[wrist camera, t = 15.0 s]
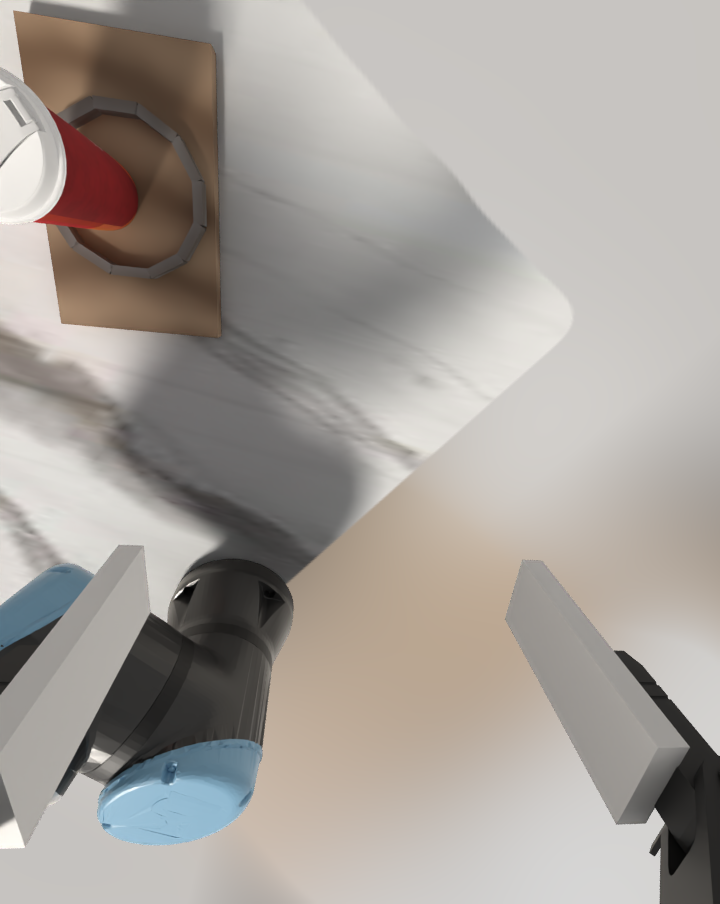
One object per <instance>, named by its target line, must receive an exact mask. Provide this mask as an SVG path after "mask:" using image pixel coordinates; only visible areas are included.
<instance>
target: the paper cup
mask: <svg viewBox="0 0 720 904" xmlns="http://www.w3.org/2000/svg"><path fill="white" fill-rule="evenodd" d="M137 209H138V193H137V189H136V186H135V184H134V181H133V179H132V178H131V176H130V175H129V173H128V172H127V171H126V169H125V168H124V167H123V166H122V165H121V164H120V163H118V162H117V161H116V160H115V159H114V158H113V157H111V156H110V155H109V154H108V153H106V152H105V151H104V150H102V149H101V148H100V147H99V146H97V145H96V144H95V143H93V142H92V141H91V140H89V139H88V138H87V137H85V136H84V135H83V134H82V133H80V132H79V131H78V130H76V129H75V128H74V127H72V126H71V125H70V124H68V123H67V122H66V121H64V120H63V119H62V118H60V117H59V116H58V115H57V114H55V113H54V112H53V111H51V110H50V109H49V108H47V107H46V106H45V105H44V104H43V103H42V101H41V100H40V99H39V97H38V96H37V95H36V94H35V93H34V92H33V91H32V90H31V89H30V88H29V87H28V86H27V85H26V84H25V83H23V82H22V81H21V80H20V79H19V78H17V77H16V76H14V75H13V74H11V73H10V72H8V71H7V70H5V69H3V68H1V67H0V223H1V224H10V225H18V224H26V223H30V222H37V223H45V224H53V225H61V226H69V227H77V228H85V229H94V230H106V231H113V230H119V229H122V228H124V227H126V226H127V225H128V224H129V223H131V221H132V220H133V219H134V217H135V215H136V212H137Z"/></svg>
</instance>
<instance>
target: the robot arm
mask: <svg viewBox="0 0 720 904" xmlns="http://www.w3.org/2000/svg"><path fill="white" fill-rule="evenodd" d="M292 619H293V599H292V596H291V593H290V591H289V589H288V587H287V586H286V584H285V583H284V582H283V580H282V579H281V578H280V577H279V576H277V575H276V574H275V573H274V572H272V571H271V570H269V569H267V568H266V567H264V566H261V565H259V564H256V563H253V562H250V561H245V560H237V559H225V560H217V561H213V562H209V563H206V564H204V565H201V566H199V567H197V568H196V569H194V570H192V571H191V572H190V573H188V574H187V575H186V576H185V577H184V578H183V579H182V581H181V582H180V583H179V585H178V587H177V589H176V591H175V593H174V595H173V597H172V599H171V602H170V605H169V609H168V623H166V622H164V621H163V620H161V619H160V618H159V617H157V616H156V615H154V614H153V613H151V612H150V603H149V593H148V584H147V574H146V564H145V555H144V546H133V545H119V546H118V547H117V548H116V549H115V551H114V552H113V553H112V554H111V556H110V557H109V558H108V559H107V561H106V562H105V563H104V564H103V566H102V567H101V568H100V570H99V571H98V572H97V573H96V575H94V574H92V573H90V572H89V571H87V570H85V569H84V568H82V567H80V566H78V565H75V564H70V563H65V564H58V565H55V566H53V567H51V568H49V569H47V570H46V571H44V572H43V573H41V574H40V575H39V576H37V577H36V578H35V579H34V580H32V581H31V582H30V583H28V584H27V585H26V586H25V587H23V588H22V589H21V590H19V591H18V592H17V593H16V594H14V595H13V596H12V597H11V598H9V599H8V600H7V601H5V602H4V603H3V604H2V605H0V849H2V848H25V847H26V845H27V843H28V841H29V840H30V838H31V836H32V834H33V832H34V830H35V828H36V826H37V824H38V822H39V820H40V819H41V817H42V815H43V813H44V811H45V809H46V808H47V807H48V806H51V805H53V804H55V803H57V802H58V801H59V800H60V798H61V797H62V796H63V794H64V793H65V791H66V790H67V788H68V787H69V785H70V784H71V782H72V781H73V779H74V778H75V776H76V775H77V773H78V772H79V773H81V774H84V775H86V776H88V777H90V778H92V779H94V780H96V781H98V782H100V783H101V784H103V785H104V786H105V788H104V789H103V790H102V791H101V794H100V796H99V799H98V800H99V801H98V804H99V805H98V811H97V816H98V820H99V822H100V823H102V827H103V829H104V830H105V831H106V832H107V833H109V834H110V835H112V836H114V837H116V838H118V839H120V840H123V841H127V842H131V843H136V844H143V845H171V844H178V843H183V842H189V841H193V840H197V839H200V838H203V837H206V836H209V835H211V834H213V833H216V832H218V831H219V830H221V829H223V828H224V827H226V826H228V825H229V824H231V823H232V822H233V821H234V820H235V819H237V818H238V817H239V816H240V814H241V813H242V812H243V811H244V810H245V808H246V807H247V805H248V803H249V802H250V800H251V797H252V795H253V791H254V787H255V782H256V776H257V771H258V766H259V763H260V761H261V759H262V745H263V737H264V729H265V720H266V712H267V704H268V696H269V686H270V679H271V670H272V665H273V663H274V661H275V659H276V657H277V655H278V654H279V652H280V650H281V648H282V646H283V644H284V642H285V641H286V639H287V637H288V635H289V632H290V629H291V626H292ZM505 620H506V622H507V624H508V625H509V627H510V629H511V631H512V633H513V635H514V637H515V638H516V640H517V642H518V644H519V646H520V648H521V649H522V651H523V653H524V655H525V657H526V659H527V660H528V662H529V664H530V666H531V668H532V670H533V672H534V673H535V675H536V677H537V679H538V681H539V683H540V684H541V686H542V688H543V690H544V692H545V694H546V695H547V697H548V699H549V701H550V703H551V705H552V707H553V708H554V710H555V712H556V714H557V716H558V717H559V719H560V721H561V723H562V725H563V727H564V729H565V731H566V732H567V734H568V736H569V738H570V740H571V741H572V743H573V745H574V747H575V749H576V751H577V753H578V754H579V756H580V758H581V760H582V762H583V764H584V765H585V767H586V769H587V771H588V773H589V774H590V777H591V778H592V780H593V782H594V784H595V786H596V788H597V789H598V791H599V793H600V795H601V797H602V799H603V800H604V802H605V804H606V806H607V808H608V810H609V812H610V813H611V815H612V817H613V819H614V821H615V823H616V824H640V823H646V822H647V820H648V818H649V816H650V815H651V813H652V812H653V810H654V808H656V810H657V811H658V813H659V814H660V816H661V818H662V819H663V821H664V822H665V824H664V826H663V828H662V829H661V831H660V833H659V834H658V836H657V837H656V839H655V841H654V842H653V844H652V846H651V849H650V852H649V853H650V854H652V855H653V856H655V855H656V854H657V852H658V851H659V849H660V848H661V861H660V863H661V865H660V904H720V756H718V755H717V754H716V753H715V752H714V751H713V749H712V748H711V747H710V746H709V745H708V743H707V742H706V741H705V740H704V739H703V738H702V736H701V735H700V734H699V733H698V731H697V730H696V729H695V728H694V727H693V726H692V724H691V723H690V722H689V721H688V720H687V719H686V717H685V716H684V715H683V714H682V712H681V711H680V710H679V709H678V708H677V706H676V705H675V704H674V703H673V702H672V700H669V699H668V696H667V695H666V693H665V692H664V691H663V690H662V689H661V687H660V686H659V685H657V684H656V681H655V680H654V679H653V678H652V677H651V676H650V674H649V673H648V672H647V671H646V669H645V668H644V667H643V666H642V665H641V664H640V663H639V662H637V661H636V660H635V659H633V658H632V657H631V656H630V655H628V654H627V653H626V652H625V651H613V650H612V648H611V647H610V646H609V645H608V643H607V642H606V641H605V639H604V638H603V637H602V636H601V634H600V633H599V632H598V631H597V629H596V628H595V627H594V626H593V624H592V623H591V622H590V620H589V619H588V618H587V617H586V616H585V614H584V613H583V612H582V610H581V609H580V608H579V607H578V605H577V604H576V603H575V602H574V600H573V599H572V598H571V597H570V595H569V594H568V593H567V592H566V590H565V589H564V588H563V586H562V585H561V584H560V583H559V581H558V580H557V579H556V578H555V576H554V575H553V574H552V573H551V571H550V570H549V569H548V568H547V566H546V565H545V564H544V562H543V561H538V560H522V563H521V566H520V569H519V573H518V576H517V580H516V583H515V586H514V590H513V593H512V597H511V600H510V604H509V607H508V610H507V614H506V618H505Z"/></svg>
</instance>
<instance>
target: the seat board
mask: <svg viewBox="0 0 720 904" xmlns="http://www.w3.org/2000/svg"><path fill="white" fill-rule="evenodd" d="M13 12H14V19H15V25H16V32H17V38H18V45H19V51H20V58H21V64H22V71H23V77H24V83H25V84H26V85H27V86H28V87H29V88H30V89H31V90H32V91H33V92H34V93H35V94H36V95H37V96H38V97H39V99H40V100H41V101H42V103H43V104H44V105H45V106H46V107H47V108H49V109H50V110H51V111H53V112H54V113H55V114H57V115H58V116H59V117H60V118H62V119H63V120H64V121H66V122H67V123H68V124H70V125H71V126H72V127H74V128H75V129H76V130H78V131H79V132H80V133H82V134H83V135H84V136H85V137H87V138H88V139H89V140H91V141H92V142H93V143H95V144H96V145H97V146H99V147H100V148H101V149H102V150H104V151H105V152H106V153H108V154H109V155H110V156H111V157H113V158H114V159H115V160H116V161H117V162H118V163H120V164H121V165H122V166H123V167H124V168H125V169H126V171H127V172H128V173H129V175H130V176H131V178H132V179H133V181H134V184H135V186H136V189H137V193H138V209H137V212H136V215H135V217H134V219H133V220H132V221H131V223H129V224H128V225H127V226H126V227H124V228H122V229H119V230H113V231H106V230H94V229H85V228H77V227H69V226H61V225H53V224H46V227H47V233H48V240H49V246H50V253H51V259H52V266H53V272H54V279H55V285H56V291H57V298H58V304H59V311H60V317H61V323H62V324H73V325H84V326H94V327H105V328H116V329H127V330H138V331H149V332H159V333H170V334H181V335H192V336H203V337H214V338H218V337H221V295H220V245H219V194H218V143H217V93H216V53H215V51H214V49H213V47H212V45H211V44H209V43H203V42H197V41H191V40H185V39H179V38H173V37H167V36H161V35H155V34H149V33H143V32H137V31H132V30H126V29H120V28H114V27H108V26H102V25H96V24H90V23H84V22H78V21H72V20H66V19H60V18H55V17H49V16H43V15H37V14H31V13H25V12H19V11H13Z"/></svg>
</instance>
